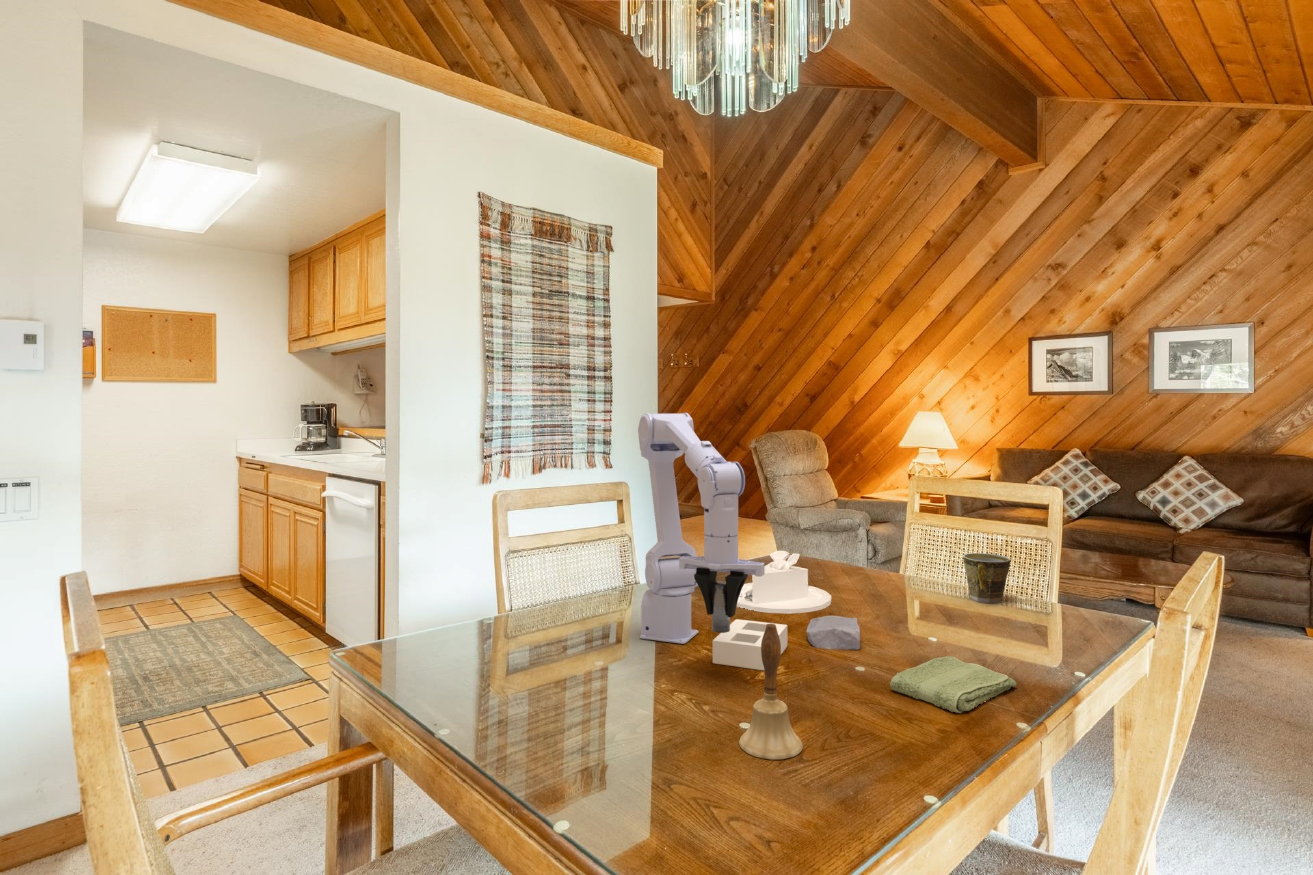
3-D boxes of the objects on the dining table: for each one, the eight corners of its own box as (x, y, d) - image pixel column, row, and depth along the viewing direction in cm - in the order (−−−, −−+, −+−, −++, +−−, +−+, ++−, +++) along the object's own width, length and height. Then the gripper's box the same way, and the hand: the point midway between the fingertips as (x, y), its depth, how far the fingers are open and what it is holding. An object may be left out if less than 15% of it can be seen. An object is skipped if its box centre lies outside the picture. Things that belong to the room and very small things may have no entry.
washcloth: (1020, 690, 112) (1020, 670, 112) (961, 720, 101) (961, 698, 101) (943, 667, 122) (943, 648, 122) (882, 692, 111) (882, 671, 111)
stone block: (810, 658, 131) (865, 651, 129) (805, 632, 131) (859, 625, 129) (809, 640, 143) (859, 633, 141) (804, 617, 143) (854, 609, 141)
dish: (767, 582, 184) (767, 539, 184) (852, 600, 166) (852, 552, 165) (703, 599, 167) (702, 552, 167) (789, 621, 149) (789, 569, 149)
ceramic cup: (968, 592, 171) (968, 551, 171) (1013, 598, 165) (1014, 556, 165) (955, 604, 161) (955, 560, 160) (1003, 611, 155) (1003, 565, 155)
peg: (709, 631, 118) (709, 584, 118) (715, 626, 121) (715, 580, 121) (726, 633, 117) (726, 585, 117) (732, 628, 120) (732, 581, 119)
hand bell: (733, 732, 97) (733, 617, 96) (792, 729, 97) (793, 615, 97) (746, 761, 88) (746, 636, 88) (810, 758, 89) (811, 634, 88)
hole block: (712, 662, 123) (712, 640, 123) (736, 639, 136) (736, 618, 136) (768, 670, 119) (768, 647, 119) (787, 645, 132) (787, 624, 132)
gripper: (672, 535, 118) (672, 615, 118) (756, 541, 112) (756, 625, 112) (687, 528, 124) (687, 605, 125) (767, 534, 118) (767, 614, 119)
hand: (721, 614), depth 119 cm, fingers closed on peg, 3 cm apart
